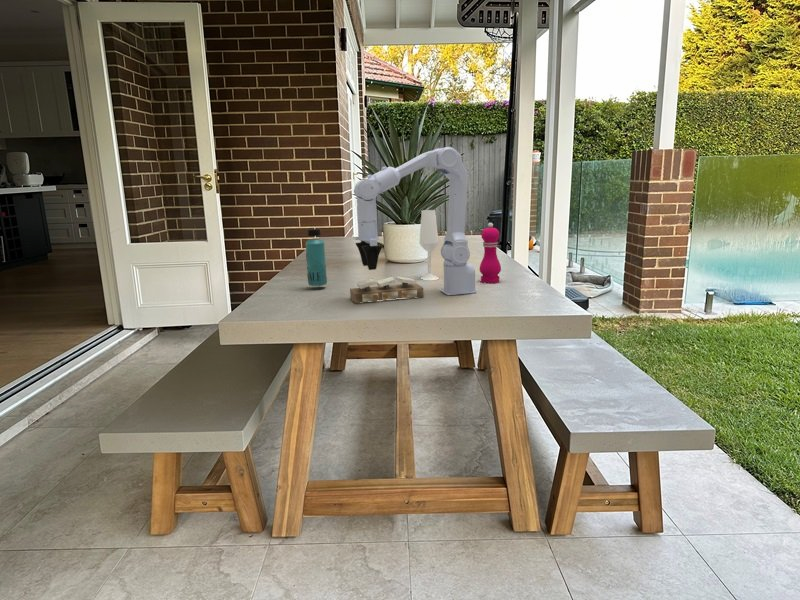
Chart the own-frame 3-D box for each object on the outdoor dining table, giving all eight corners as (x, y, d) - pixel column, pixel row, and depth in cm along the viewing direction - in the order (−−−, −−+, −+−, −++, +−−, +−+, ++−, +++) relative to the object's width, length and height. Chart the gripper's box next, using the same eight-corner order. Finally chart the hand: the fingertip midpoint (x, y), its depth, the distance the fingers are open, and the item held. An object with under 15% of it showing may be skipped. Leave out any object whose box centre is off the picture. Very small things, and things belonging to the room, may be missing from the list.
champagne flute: (433, 280, 192) (432, 211, 186) (416, 279, 195) (415, 211, 190) (442, 277, 197) (441, 209, 192) (425, 276, 201) (424, 209, 195)
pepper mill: (479, 279, 191) (479, 221, 187) (500, 279, 190) (501, 221, 186) (479, 283, 184) (479, 223, 180) (501, 283, 183) (502, 223, 179)
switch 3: (410, 281, 171) (411, 278, 171) (415, 284, 167) (415, 280, 167) (395, 279, 170) (396, 276, 170) (399, 282, 166) (400, 278, 165)
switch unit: (415, 292, 174) (415, 279, 173) (424, 297, 166) (423, 284, 165) (350, 298, 169) (349, 284, 168) (355, 304, 161) (355, 290, 160)
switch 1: (373, 281, 168) (372, 278, 168) (376, 284, 164) (375, 280, 163) (357, 286, 167) (356, 283, 167) (360, 288, 163) (359, 285, 162)
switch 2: (392, 279, 169) (391, 276, 169) (395, 282, 165) (395, 279, 165) (376, 284, 168) (376, 281, 168) (380, 287, 164) (379, 284, 164)
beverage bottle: (325, 285, 189) (322, 227, 184) (329, 289, 183) (325, 229, 178) (306, 287, 187) (302, 228, 182) (309, 291, 181) (305, 230, 176)
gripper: (349, 220, 166) (351, 264, 169) (358, 224, 152) (361, 272, 156) (371, 219, 168) (373, 263, 171) (383, 222, 154) (385, 270, 157)
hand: (369, 267), depth 163 cm, fingers open, 7 cm apart
